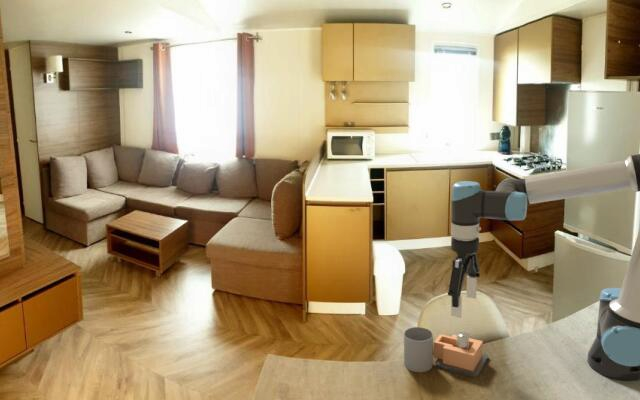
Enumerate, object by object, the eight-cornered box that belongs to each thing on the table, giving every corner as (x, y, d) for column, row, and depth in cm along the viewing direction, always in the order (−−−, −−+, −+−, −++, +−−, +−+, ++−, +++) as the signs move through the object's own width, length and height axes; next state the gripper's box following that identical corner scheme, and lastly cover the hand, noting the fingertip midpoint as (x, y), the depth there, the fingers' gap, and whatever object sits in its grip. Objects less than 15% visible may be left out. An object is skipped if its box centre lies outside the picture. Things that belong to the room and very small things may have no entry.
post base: (488, 357, 161) (489, 330, 159) (476, 378, 152) (477, 349, 149) (449, 348, 168) (450, 322, 165) (435, 366, 158) (435, 339, 156)
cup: (431, 357, 163) (431, 327, 161) (434, 372, 155) (434, 341, 153) (403, 356, 164) (403, 327, 162) (404, 371, 156) (404, 341, 154)
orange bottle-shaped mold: (482, 356, 160) (482, 341, 159) (473, 371, 153) (473, 355, 152) (442, 346, 167) (442, 331, 166) (431, 359, 160) (431, 344, 159)
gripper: (464, 252, 138) (462, 328, 143) (491, 226, 158) (489, 292, 163) (436, 248, 142) (436, 322, 147) (466, 223, 162) (465, 288, 167)
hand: (464, 306), depth 155 cm, fingers open, 13 cm apart
